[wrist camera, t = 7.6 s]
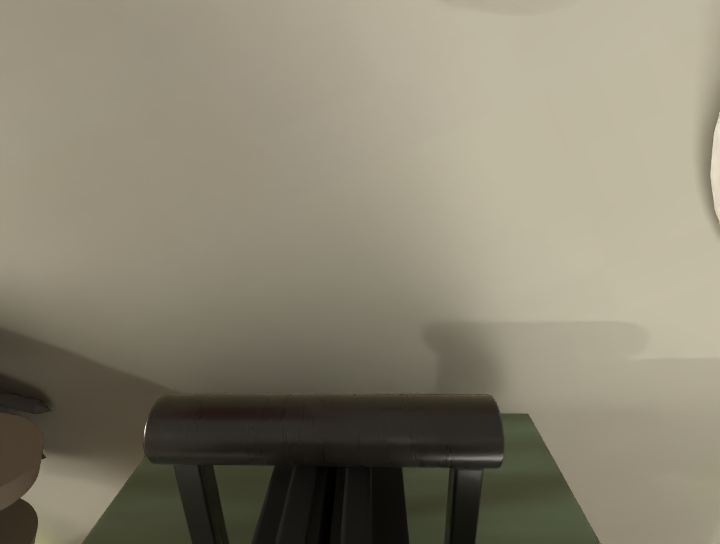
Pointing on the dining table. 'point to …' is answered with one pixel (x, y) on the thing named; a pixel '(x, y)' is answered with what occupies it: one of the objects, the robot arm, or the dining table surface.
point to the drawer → (343, 449)
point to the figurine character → (19, 468)
